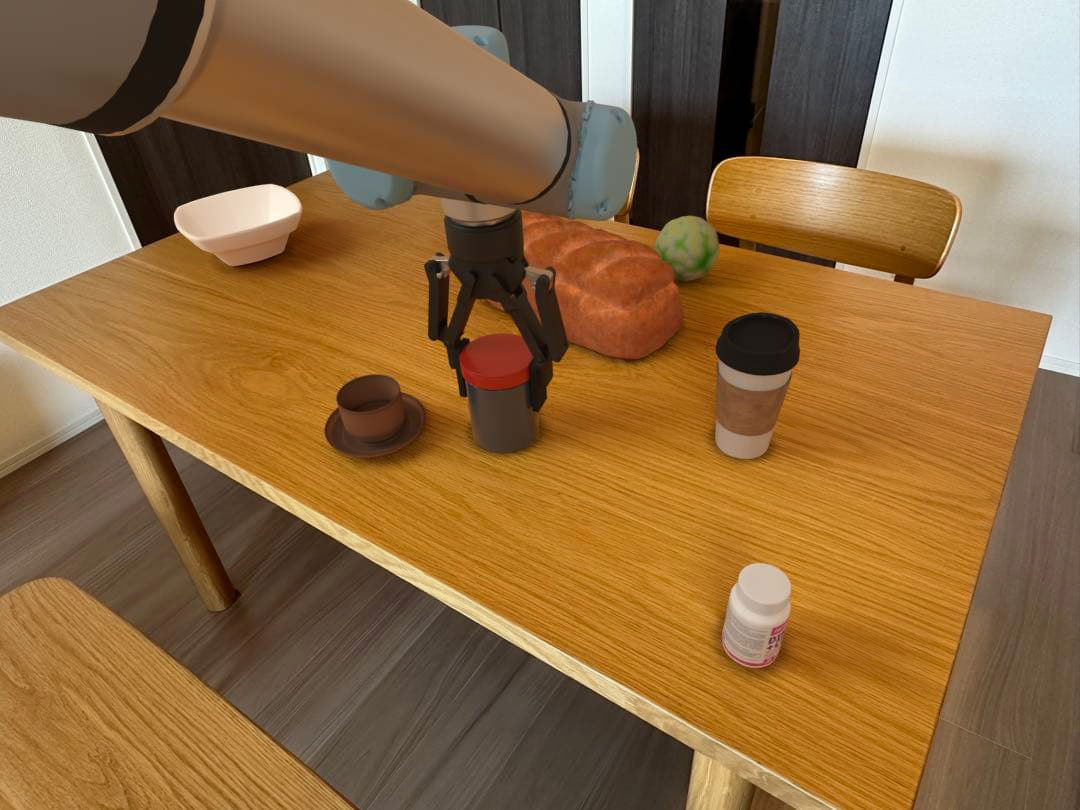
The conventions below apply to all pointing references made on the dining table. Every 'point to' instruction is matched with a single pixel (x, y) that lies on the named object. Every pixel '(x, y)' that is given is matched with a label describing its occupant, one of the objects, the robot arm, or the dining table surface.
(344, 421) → the cup and saucer
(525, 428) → the jar
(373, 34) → the robot arm
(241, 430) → the dining table surface
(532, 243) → the bread
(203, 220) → the bowl
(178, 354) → the dining table surface
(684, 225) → the decorative ball
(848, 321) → the dining table surface
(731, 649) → the pill bottle
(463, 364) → the jar lid
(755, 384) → the coffee cup
